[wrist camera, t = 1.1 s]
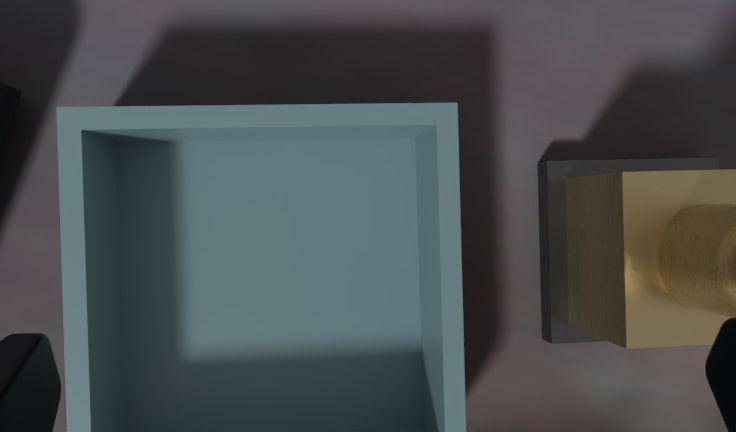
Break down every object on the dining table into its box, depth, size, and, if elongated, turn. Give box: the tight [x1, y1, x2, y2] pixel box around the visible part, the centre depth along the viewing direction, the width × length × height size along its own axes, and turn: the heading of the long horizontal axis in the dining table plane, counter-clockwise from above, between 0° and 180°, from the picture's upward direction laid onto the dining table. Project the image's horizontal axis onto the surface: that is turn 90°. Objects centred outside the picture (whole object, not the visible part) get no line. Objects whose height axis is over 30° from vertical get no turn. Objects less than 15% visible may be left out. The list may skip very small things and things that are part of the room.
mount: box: [538, 157, 720, 344], centre depth 25 cm, size 7×7×4 cm
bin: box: [56, 103, 466, 432], centre depth 23 cm, size 12×12×4 cm
